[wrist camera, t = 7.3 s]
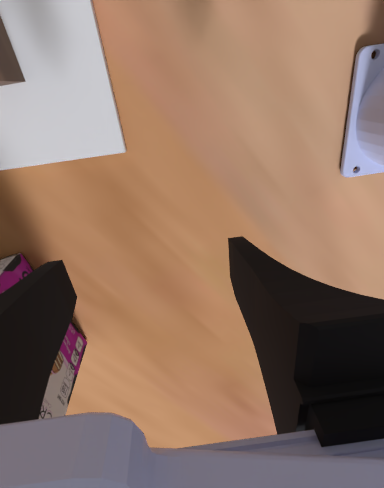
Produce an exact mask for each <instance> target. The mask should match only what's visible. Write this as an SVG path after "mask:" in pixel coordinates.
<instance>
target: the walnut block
mask: <svg viewBox="0 0 384 488" xmlns="http://www.w3.org/2000/svg"><path fill="white" fill-rule="evenodd" d="M21 82H26V81H25V78H24V76H23V73H22V71H21V68H20V65H19V63H18V60H17V58H16V55H15V52H14V50H13V47H12V45H11V42H10V39H9V37H8V34H7V32H6V29H5V26H4V24H3V21H2V19H1V16H0V86H3V85H9V84H15V83H21Z"/></svg>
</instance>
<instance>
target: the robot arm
mask: <svg viewBox="0 0 384 488" xmlns="http://www.w3.org/2000/svg"><path fill="white" fill-rule="evenodd" d="M374 50H375V52H376V55H375V57H374V59H372V58H371V54H372V52H373V51H374ZM356 166H357V169H356V170H355V171H354V172H353V169H354V168H355V167H356ZM381 172H384V44H377V45H370V46H365V47H362V48H361V49H360V50H359V51H358V53H357V55H356V60H355V67H354V75H353V82H352V89H351V97H350V104H349V111H348V118H347V126H346V133H345V140H344V147H343V155H342V162H341V169H340V173H341V175H343V176H345V177H354V176H361V175H367V174H374V173H381ZM228 243H229V263H230V278H231V282H232V286H233V290H234V294H235V297H236V300H237V302H238V305H239V307H240V310H241V312H242V315H243V317H244V320H245V322H246V325H247V327H248V330H249V332H250V335H251V338H252V340H253V343H254V346H255V350H256V353H257V357H258V361H259V364H260V368H261V372H262V375H263V379H264V383H265V387H266V390H267V394H268V398H269V402H270V406H271V410H272V414H273V418H274V422H275V426H276V430H277V435H271V436H263V437H256V438H249V439H242V440H235V441H227V442H220V443H213V444H206V445H199V446H191V447H184V448H177V449H174V448H149V446H148V444H147V441H146V438H145V436H144V433H143V432H142V431H141V430H140V429H139V428H138V427H137V426H136V425H135V424H134V422H133V421H132V420H131V419H128V418H125V417H123V416H120V415H117V414H114V413H96V412H88V413H81V414H74V415H67V416H59V417H52V418H45V419H39V416H40V411H41V407H42V403H43V399H44V395H45V392H46V388H47V385H48V381H49V377H50V374H51V371H52V368H53V365H54V363H55V360H56V358H57V355H58V353H59V350H60V348H61V345H62V343H63V340H64V338H65V335H66V333H67V330H68V328H69V325H70V322H71V320H72V317H73V313H74V309H75V304H76V299H77V296H76V293H75V291H74V288H73V286H72V283H71V281H70V278H69V276H68V273H67V271H66V268H65V266H64V263H63V261H62V260H59V261H51V262H47V263H45V264H43V265H42V266H40V267H39V268H37V269H36V270H34V271H33V272H31V273H30V274H28V275H27V276H26V277H24V278H23V279H21V280H20V281H19V282H17V283H16V284H14V285H13V286H11V287H10V288H9V289H7V290H6V291H4V292H3V293H1V294H0V488H384V300H383V299H378V298H373V297H369V296H364V295H360V294H356V293H352V292H349V291H345V290H342V289H339V288H335V287H332V286H329V285H327V284H324V283H321V282H319V281H316V280H313V279H311V278H309V277H306V276H304V275H302V274H300V273H298V272H296V271H294V270H292V269H290V268H288V267H286V266H285V265H283V264H281V263H279V262H278V261H276V260H274V259H273V258H271V257H270V256H268V255H267V254H265V253H264V252H263V251H261V250H260V249H258V248H257V247H256V246H254V245H253V244H252V243H250V242H249V241H248V240H246V239H245V238H244V237H234V238H228Z"/></svg>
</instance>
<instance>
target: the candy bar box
mask: <svg viewBox="0 0 384 488" xmlns="http://www.w3.org/2000/svg"><path fill="white" fill-rule="evenodd" d="M33 271H34V270H33V269H32V267H31V266H30V265H29V263H28V262H27V261H26V259H25V258H24V257H23V255H22V254H21V253H18V254H15V255H11V256H8V257H6V258H3V259H1V260H0V294H1V293H3V292H4V291H6V290H7V289H9V288H10V287H11V286H13V285H14V284H16V283H17V282H19V281H20V280H21V279H23V278H24V277H26V276H27V275H28V274H30V273H31V272H33ZM86 345H87V341H86V340H85V339H84V337H83V336H82V335H81V333H80V332H79V331H78V330H77V328H76V327H75V325H74V324H73V323H72V322H70V325H69V328H68V330H67V333H66V335H65V338H64V340H63V343H62V345H61V348H60V350H59V353H58V355H57V358H56V360H55V363H54V365H53V368H52V371H51V374H50V377H49V381H48V385H47V388H46V392H45V395H44V399H43V403H42V407H41V411H40V416H39V419H45V418H52V417H59V416H65V414H66V411H67V407H68V404H69V400H70V397H71V394H72V390H73V387H74V384H75V381H76V377H77V374H78V371H79V368H80V364H81V361H82V358H83V355H84V352H85V348H86Z"/></svg>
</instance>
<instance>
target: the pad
mask: <svg viewBox="0 0 384 488" xmlns="http://www.w3.org/2000/svg"><path fill="white" fill-rule="evenodd" d="M0 16H1V19H2V21H3V24H4V26H5V29H6V32H7V34H8V37H9V39H10V42H11V45H12V47H13V50H14V52H15V55H16V58H17V60H18V63H19V65H20V68H21V71H22V73H23V76H24V78H25V81H26V82H21V83H15V84H9V85H3V86H0V170H6V169H13V168H20V167H27V166H34V165H41V164H47V163H54V162H61V161H68V160H75V159H82V158H89V157H96V156H103V155H110V154H116V153H123V152H126V151H127V149H126V145H125V141H124V136H123V132H122V128H121V123H120V119H119V115H118V110H117V106H116V102H115V97H114V93H113V89H112V84H111V80H110V76H109V71H108V67H107V63H106V59H105V54H104V50H103V46H102V41H101V37H100V33H99V28H98V24H97V20H96V15H95V11H94V7H93V2H92V0H0Z"/></svg>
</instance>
